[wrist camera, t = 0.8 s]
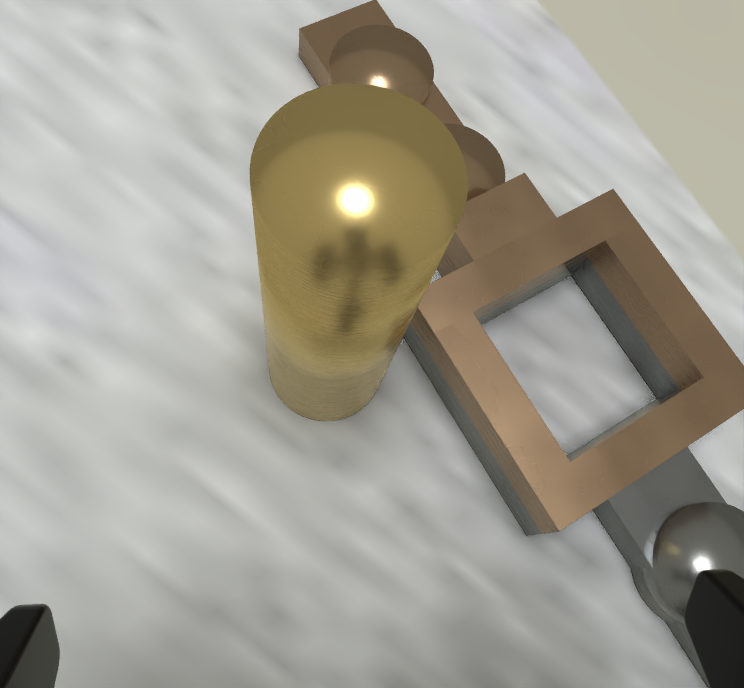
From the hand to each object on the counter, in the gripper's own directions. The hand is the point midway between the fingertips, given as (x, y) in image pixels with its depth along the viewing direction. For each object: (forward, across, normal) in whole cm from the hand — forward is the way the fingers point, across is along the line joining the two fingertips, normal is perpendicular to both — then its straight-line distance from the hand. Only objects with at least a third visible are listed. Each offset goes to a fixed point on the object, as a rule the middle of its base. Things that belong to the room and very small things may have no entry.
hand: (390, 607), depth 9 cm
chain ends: (+14, -8, +4) cm, 17 cm away
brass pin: (+15, 0, +4) cm, 15 cm away
